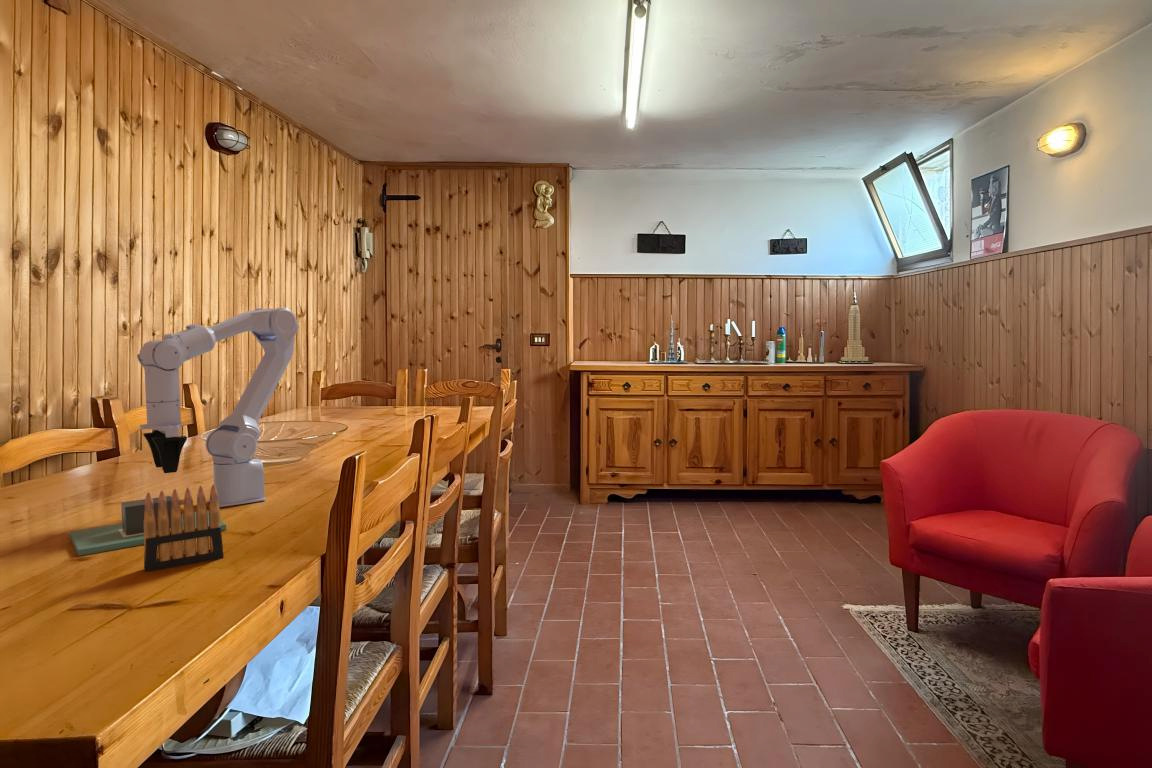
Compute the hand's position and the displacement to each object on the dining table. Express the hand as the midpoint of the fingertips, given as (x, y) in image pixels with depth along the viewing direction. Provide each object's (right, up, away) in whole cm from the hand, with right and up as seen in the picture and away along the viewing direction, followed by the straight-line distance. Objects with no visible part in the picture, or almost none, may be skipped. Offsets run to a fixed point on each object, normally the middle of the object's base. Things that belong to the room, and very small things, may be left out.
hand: (166, 469), depth 132 cm
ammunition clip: (+19, -12, -27) cm, 35 cm away
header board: (+4, -10, -11) cm, 15 cm away
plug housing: (+5, -9, -11) cm, 15 cm away
